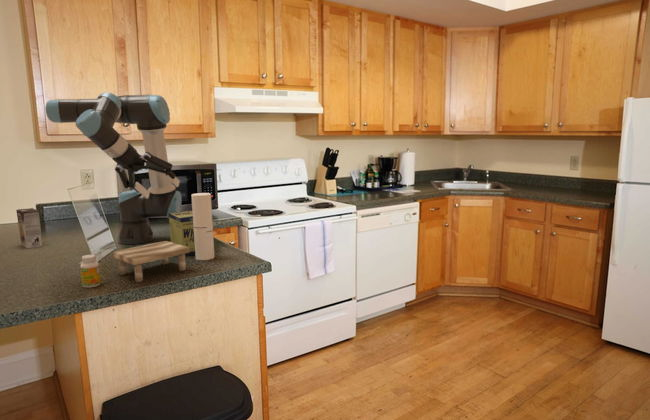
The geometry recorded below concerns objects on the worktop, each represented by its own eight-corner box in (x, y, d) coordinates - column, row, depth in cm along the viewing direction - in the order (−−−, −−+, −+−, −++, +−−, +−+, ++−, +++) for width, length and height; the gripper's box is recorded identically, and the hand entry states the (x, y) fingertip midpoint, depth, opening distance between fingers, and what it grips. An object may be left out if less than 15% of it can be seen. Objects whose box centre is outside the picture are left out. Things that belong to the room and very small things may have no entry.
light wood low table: (114, 273, 158) (112, 251, 156) (167, 261, 172) (166, 240, 171) (136, 283, 147) (134, 259, 146) (190, 269, 162) (189, 247, 161)
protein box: (183, 256, 178) (180, 218, 176) (170, 248, 191) (167, 212, 188) (208, 252, 184) (206, 214, 182) (194, 245, 197) (192, 209, 194)
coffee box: (20, 245, 200) (15, 209, 198) (37, 242, 205) (32, 207, 202) (26, 248, 194) (21, 211, 192) (43, 245, 199) (38, 209, 196)
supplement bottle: (79, 288, 144) (76, 259, 142) (85, 283, 149) (82, 254, 147) (98, 287, 144) (94, 257, 143) (103, 281, 150) (100, 253, 148)
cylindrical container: (194, 256, 178) (190, 193, 174) (212, 254, 181) (209, 192, 177) (197, 261, 172) (192, 196, 168) (216, 258, 175) (212, 194, 170)
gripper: (88, 170, 150) (133, 208, 165) (147, 145, 143) (189, 186, 158) (94, 155, 155) (138, 192, 170) (152, 130, 148) (192, 171, 163)
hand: (163, 190), depth 164 cm, fingers open, 13 cm apart
